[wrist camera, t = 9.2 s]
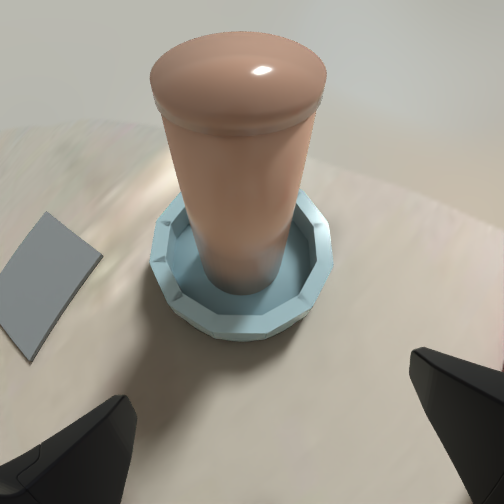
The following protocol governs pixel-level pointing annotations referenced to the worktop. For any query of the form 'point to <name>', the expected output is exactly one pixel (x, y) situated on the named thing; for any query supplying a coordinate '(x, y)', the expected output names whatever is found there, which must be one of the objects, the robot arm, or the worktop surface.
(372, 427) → the worktop surface
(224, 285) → the dome-capped peach post
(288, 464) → the worktop surface
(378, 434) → the worktop surface
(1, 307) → the mat
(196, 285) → the bowl
